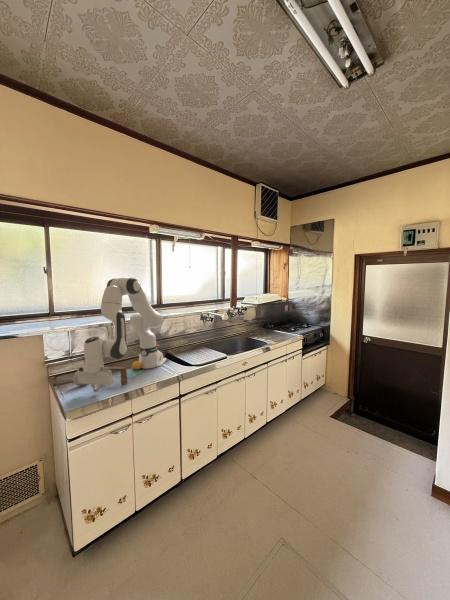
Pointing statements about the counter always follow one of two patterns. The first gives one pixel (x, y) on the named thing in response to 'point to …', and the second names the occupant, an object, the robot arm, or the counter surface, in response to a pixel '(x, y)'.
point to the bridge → (123, 373)
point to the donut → (76, 379)
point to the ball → (136, 365)
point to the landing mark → (132, 373)
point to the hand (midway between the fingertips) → (96, 391)
